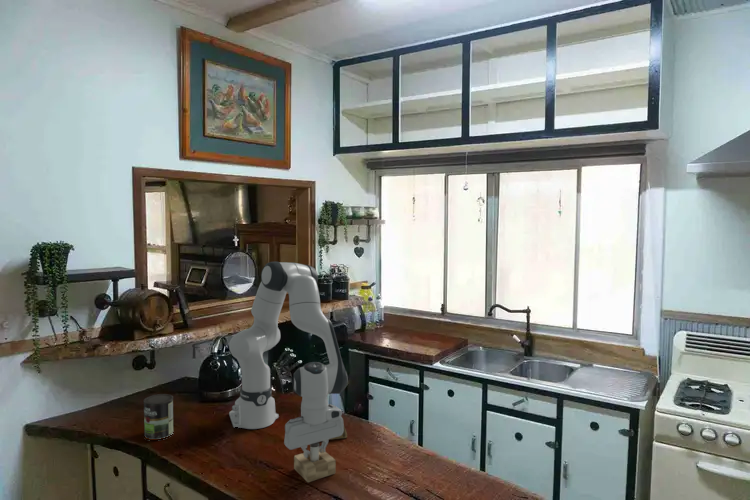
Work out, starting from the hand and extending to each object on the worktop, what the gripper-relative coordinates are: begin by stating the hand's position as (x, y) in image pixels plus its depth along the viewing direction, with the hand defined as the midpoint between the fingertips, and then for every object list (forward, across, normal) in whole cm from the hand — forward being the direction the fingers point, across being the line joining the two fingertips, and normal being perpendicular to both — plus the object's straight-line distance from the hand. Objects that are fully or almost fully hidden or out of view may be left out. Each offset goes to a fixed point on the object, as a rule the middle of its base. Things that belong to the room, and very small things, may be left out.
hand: (314, 454), depth 162 cm
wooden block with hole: (+6, 0, 0) cm, 6 cm away
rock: (+6, +17, +18) cm, 25 cm away
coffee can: (+6, -37, +56) cm, 67 cm away
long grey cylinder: (+6, 0, 0) cm, 6 cm away
